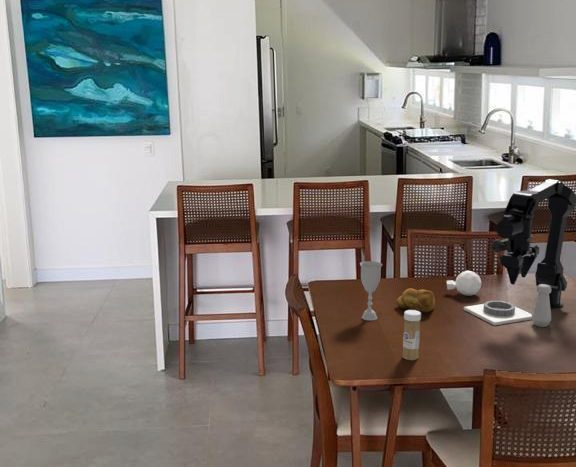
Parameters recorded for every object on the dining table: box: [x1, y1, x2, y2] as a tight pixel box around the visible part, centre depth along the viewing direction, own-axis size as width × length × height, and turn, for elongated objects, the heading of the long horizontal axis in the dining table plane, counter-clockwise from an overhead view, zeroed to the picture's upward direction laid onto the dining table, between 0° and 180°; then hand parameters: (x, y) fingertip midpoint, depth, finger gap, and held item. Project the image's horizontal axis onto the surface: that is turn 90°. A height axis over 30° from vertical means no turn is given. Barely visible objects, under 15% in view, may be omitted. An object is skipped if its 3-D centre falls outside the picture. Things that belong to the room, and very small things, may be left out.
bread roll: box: [396, 288, 436, 313], centre depth 241 cm, size 13×10×8 cm
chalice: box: [359, 260, 383, 321], centre depth 231 cm, size 7×7×18 cm
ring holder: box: [463, 300, 533, 326], centre depth 236 cm, size 16×16×3 cm
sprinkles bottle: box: [402, 309, 422, 361], centre depth 200 cm, size 5×5×13 cm
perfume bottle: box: [446, 270, 483, 297], centre depth 256 cm, size 9×9×12 cm
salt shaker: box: [531, 284, 552, 328], centre depth 226 cm, size 6×6×13 cm
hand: (518, 280), depth 228 cm, fingers open, 9 cm apart
